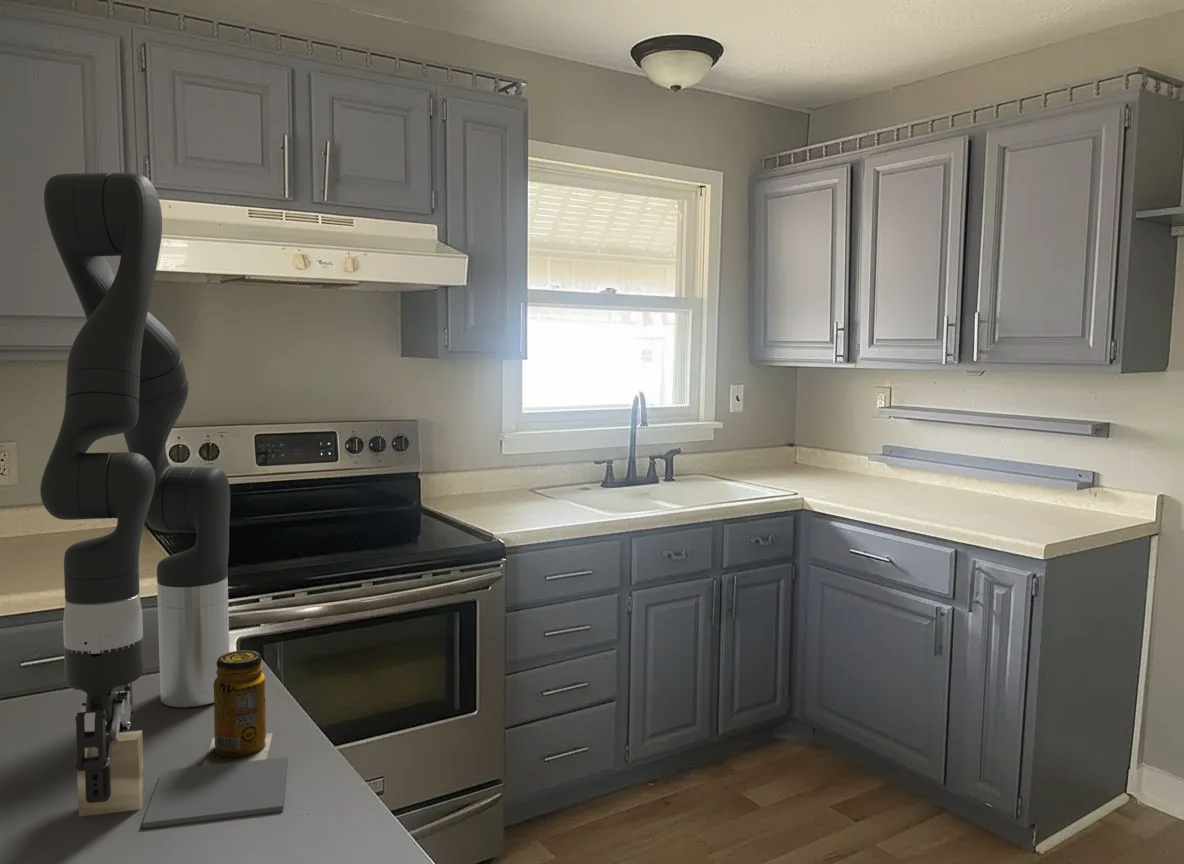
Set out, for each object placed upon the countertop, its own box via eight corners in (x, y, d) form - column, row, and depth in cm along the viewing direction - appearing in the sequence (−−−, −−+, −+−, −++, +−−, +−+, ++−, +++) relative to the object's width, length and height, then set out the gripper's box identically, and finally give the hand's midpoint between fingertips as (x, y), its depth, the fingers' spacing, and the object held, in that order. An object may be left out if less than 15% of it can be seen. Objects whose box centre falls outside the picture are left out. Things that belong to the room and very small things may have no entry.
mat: (162, 775, 106) (162, 770, 106) (287, 761, 110) (287, 756, 110) (142, 828, 94) (142, 822, 94) (283, 810, 98) (283, 805, 98)
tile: (84, 805, 99) (81, 735, 98) (144, 798, 100) (142, 730, 100) (78, 816, 96) (76, 745, 96) (140, 809, 98) (138, 739, 97)
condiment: (272, 734, 117) (271, 645, 116) (265, 764, 109) (264, 668, 108) (212, 739, 115) (210, 649, 114) (201, 770, 107) (199, 673, 106)
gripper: (82, 620, 102) (87, 757, 103) (44, 661, 88) (49, 819, 90) (154, 615, 104) (158, 750, 106) (128, 656, 91) (132, 809, 92)
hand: (108, 781), depth 98 cm, fingers open, 8 cm apart
